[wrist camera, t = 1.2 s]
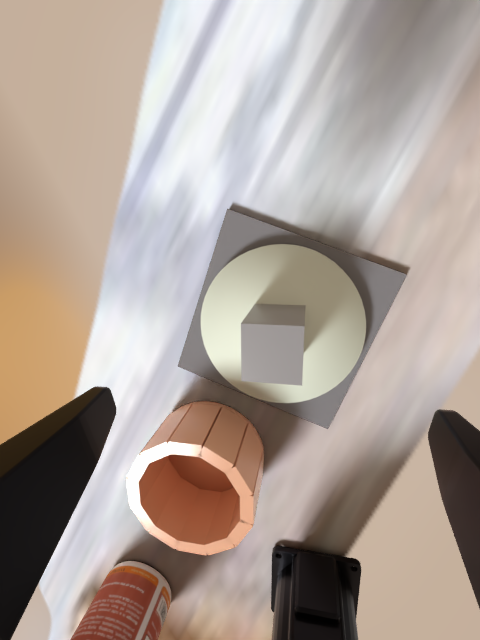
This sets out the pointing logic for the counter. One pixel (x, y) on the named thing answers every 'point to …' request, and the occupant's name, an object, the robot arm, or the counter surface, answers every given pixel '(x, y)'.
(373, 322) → the mat
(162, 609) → the pill bottle
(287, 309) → the lid
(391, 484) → the counter surface
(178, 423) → the bowl
